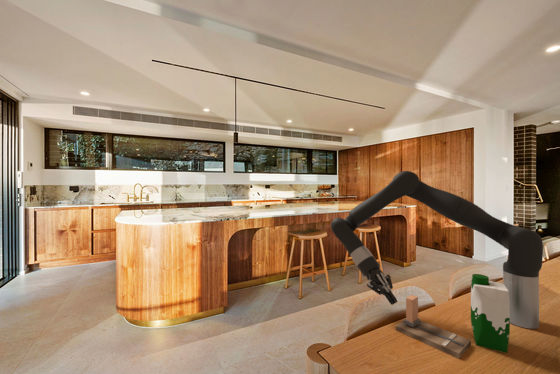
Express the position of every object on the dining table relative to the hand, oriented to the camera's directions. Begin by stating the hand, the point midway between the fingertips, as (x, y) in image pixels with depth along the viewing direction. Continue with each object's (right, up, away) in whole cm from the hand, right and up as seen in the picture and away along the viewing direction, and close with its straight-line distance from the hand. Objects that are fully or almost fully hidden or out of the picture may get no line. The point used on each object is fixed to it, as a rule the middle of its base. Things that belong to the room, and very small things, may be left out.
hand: (394, 303), depth 90 cm
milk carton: (+23, -7, -13) cm, 27 cm away
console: (+7, -6, -10) cm, 14 cm away
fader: (+4, -4, -5) cm, 7 cm away
